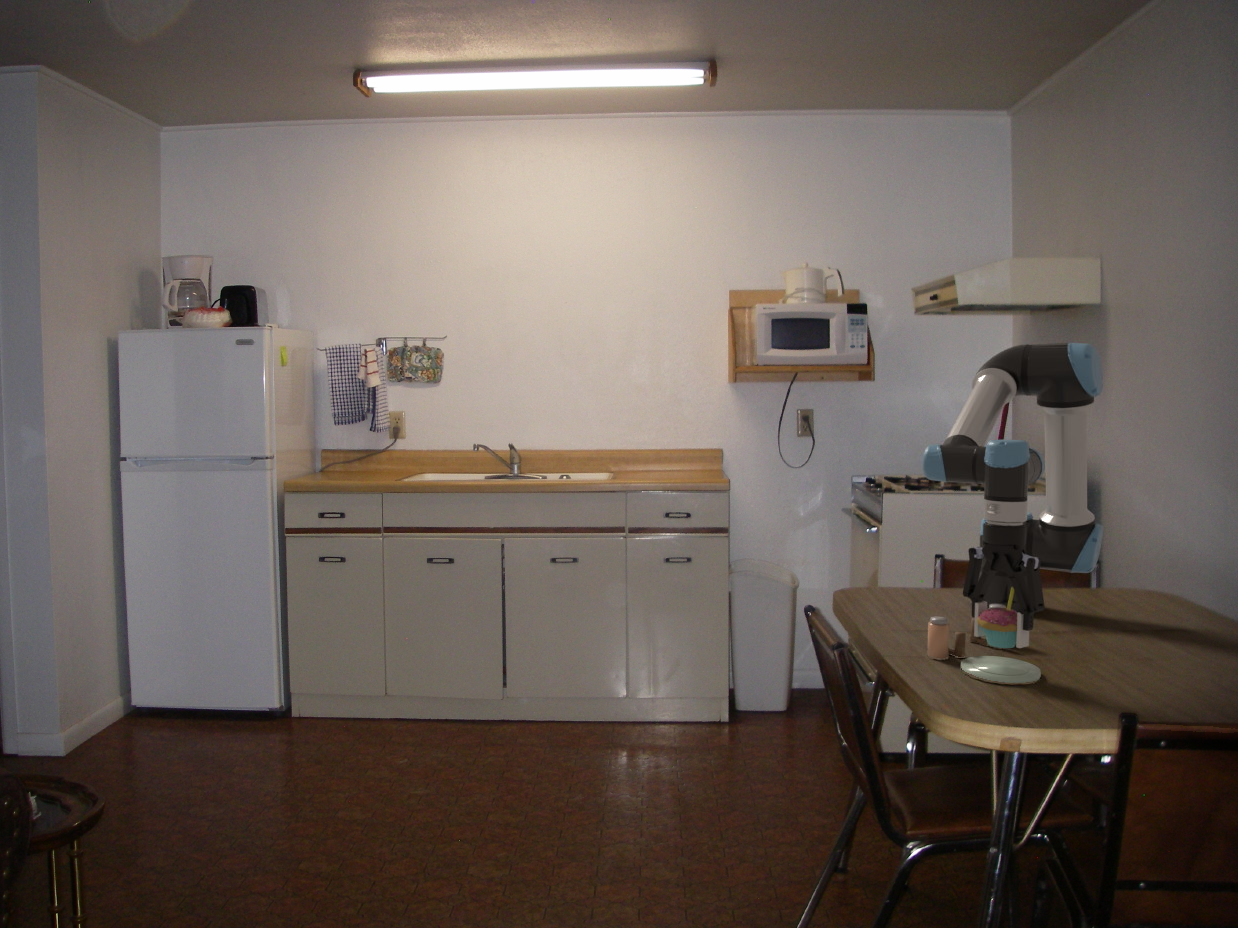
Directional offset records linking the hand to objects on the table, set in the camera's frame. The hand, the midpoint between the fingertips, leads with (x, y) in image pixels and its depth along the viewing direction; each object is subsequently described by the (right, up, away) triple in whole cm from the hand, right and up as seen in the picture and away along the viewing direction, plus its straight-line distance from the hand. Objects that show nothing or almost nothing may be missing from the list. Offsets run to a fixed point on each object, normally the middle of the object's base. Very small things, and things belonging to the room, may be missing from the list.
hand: (1000, 640), depth 171 cm
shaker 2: (+8, -4, +21) cm, 23 cm away
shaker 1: (-8, -5, +11) cm, 15 cm away
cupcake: (0, -1, 0) cm, 1 cm away
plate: (0, -6, +1) cm, 6 cm away
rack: (0, -5, +16) cm, 17 cm away
